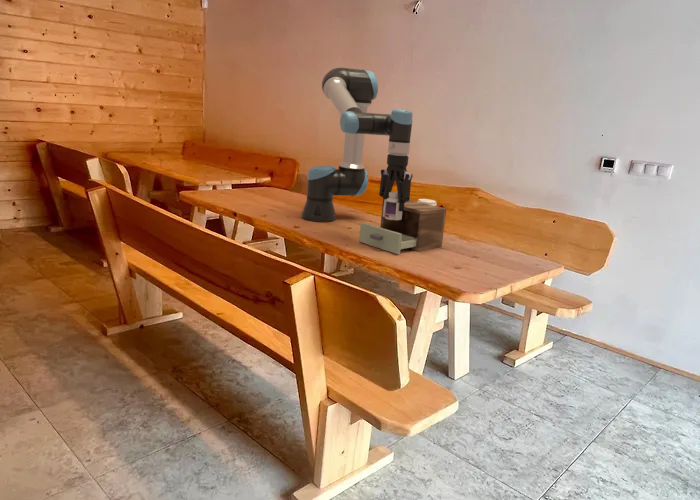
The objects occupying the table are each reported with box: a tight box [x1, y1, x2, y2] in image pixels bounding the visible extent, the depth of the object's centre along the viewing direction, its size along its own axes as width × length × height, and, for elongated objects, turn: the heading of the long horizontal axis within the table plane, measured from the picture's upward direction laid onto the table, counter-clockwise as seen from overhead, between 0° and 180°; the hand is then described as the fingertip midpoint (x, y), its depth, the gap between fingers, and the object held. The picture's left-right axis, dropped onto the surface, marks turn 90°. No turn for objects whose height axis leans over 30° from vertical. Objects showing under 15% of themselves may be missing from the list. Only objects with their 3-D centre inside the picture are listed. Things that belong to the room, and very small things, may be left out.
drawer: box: [358, 222, 417, 255], centre depth 194 cm, size 20×16×7 cm
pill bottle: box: [385, 191, 399, 220], centre depth 191 cm, size 5×5×10 cm
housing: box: [379, 199, 448, 252], centre depth 201 cm, size 20×14×15 cm
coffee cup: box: [417, 198, 438, 206], centre depth 214 cm, size 8×8×15 cm
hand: (392, 218), depth 192 cm, fingers closed on pill bottle, 5 cm apart
